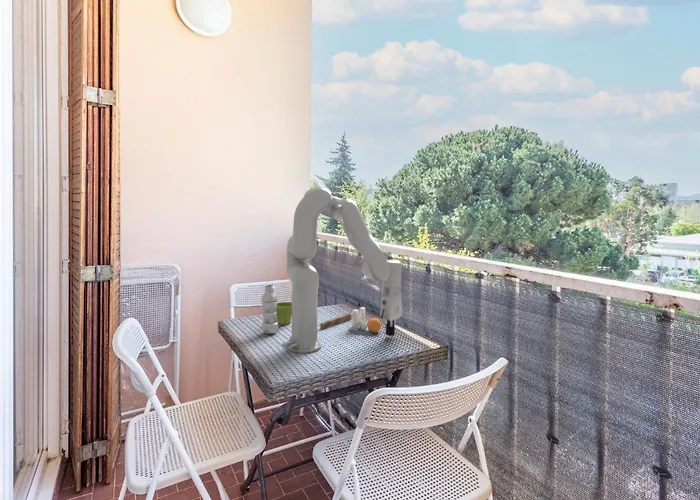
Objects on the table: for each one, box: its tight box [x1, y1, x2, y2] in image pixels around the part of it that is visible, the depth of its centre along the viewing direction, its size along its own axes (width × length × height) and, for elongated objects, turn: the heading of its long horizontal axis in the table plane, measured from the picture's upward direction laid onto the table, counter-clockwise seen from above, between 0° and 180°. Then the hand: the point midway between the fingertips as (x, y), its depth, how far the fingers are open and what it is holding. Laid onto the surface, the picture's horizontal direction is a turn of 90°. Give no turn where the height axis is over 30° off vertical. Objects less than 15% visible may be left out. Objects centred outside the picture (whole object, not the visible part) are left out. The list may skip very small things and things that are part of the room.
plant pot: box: [276, 301, 292, 326], centre depth 174 cm, size 9×9×9 cm
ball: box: [366, 317, 382, 333], centre depth 164 cm, size 6×6×6 cm
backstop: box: [319, 313, 353, 330], centre depth 175 cm, size 20×2×2 cm, turn 142°
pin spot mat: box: [347, 325, 376, 336], centre depth 166 cm, size 12×12×1 cm
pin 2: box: [358, 306, 366, 328], centre depth 168 cm, size 2×2×9 cm
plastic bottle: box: [261, 284, 279, 335], centre depth 159 cm, size 6×7×20 cm
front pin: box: [350, 311, 367, 331], centre depth 167 cm, size 2×2×9 cm
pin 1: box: [351, 309, 359, 331], centre depth 165 cm, size 2×2×9 cm
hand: (390, 334), depth 157 cm, fingers closed
